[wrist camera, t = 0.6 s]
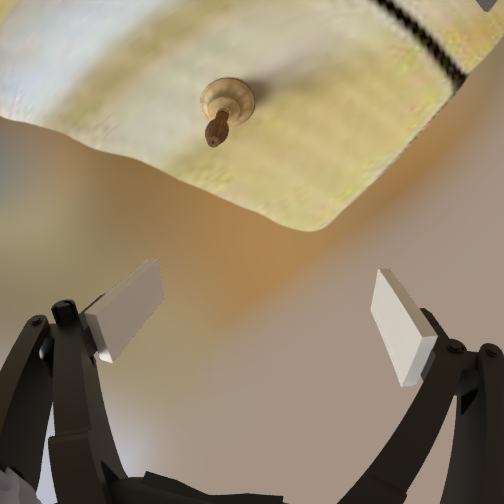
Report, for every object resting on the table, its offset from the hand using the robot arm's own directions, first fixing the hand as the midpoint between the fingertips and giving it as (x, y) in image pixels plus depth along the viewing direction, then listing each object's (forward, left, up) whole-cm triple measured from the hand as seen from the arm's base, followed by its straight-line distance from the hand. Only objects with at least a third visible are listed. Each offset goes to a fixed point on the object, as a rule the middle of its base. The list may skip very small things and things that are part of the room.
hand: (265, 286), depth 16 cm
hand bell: (-4, -4, -33) cm, 33 cm away
